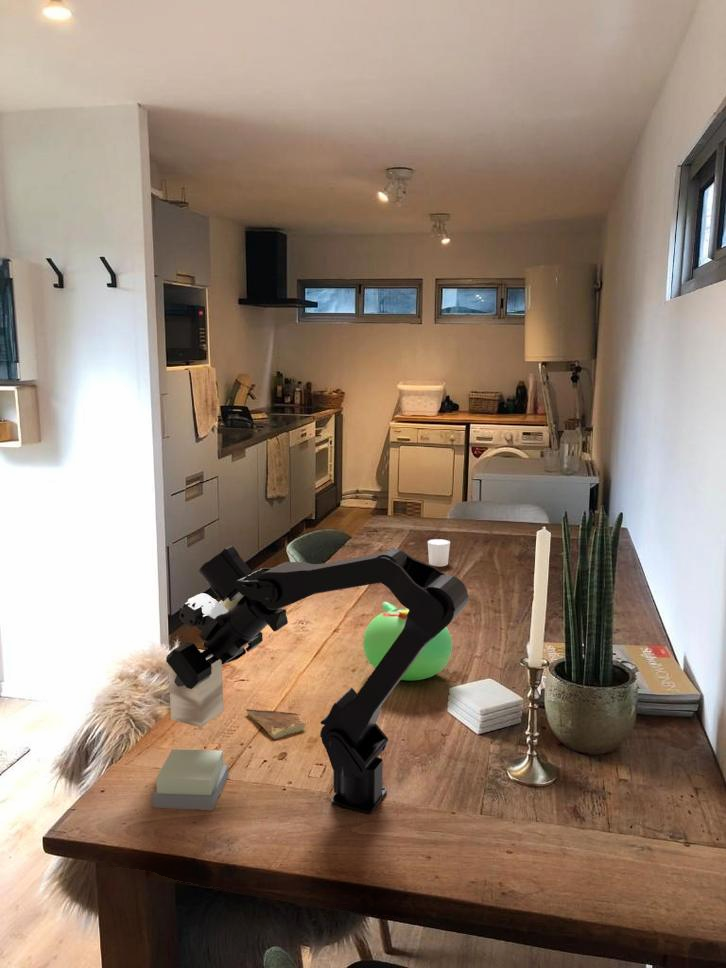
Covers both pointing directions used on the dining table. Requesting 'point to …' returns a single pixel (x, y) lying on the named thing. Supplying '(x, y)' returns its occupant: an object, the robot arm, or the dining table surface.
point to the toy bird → (387, 631)
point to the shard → (277, 722)
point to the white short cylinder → (438, 552)
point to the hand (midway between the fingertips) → (189, 676)
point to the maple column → (197, 698)
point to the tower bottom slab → (192, 797)
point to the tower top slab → (190, 772)
